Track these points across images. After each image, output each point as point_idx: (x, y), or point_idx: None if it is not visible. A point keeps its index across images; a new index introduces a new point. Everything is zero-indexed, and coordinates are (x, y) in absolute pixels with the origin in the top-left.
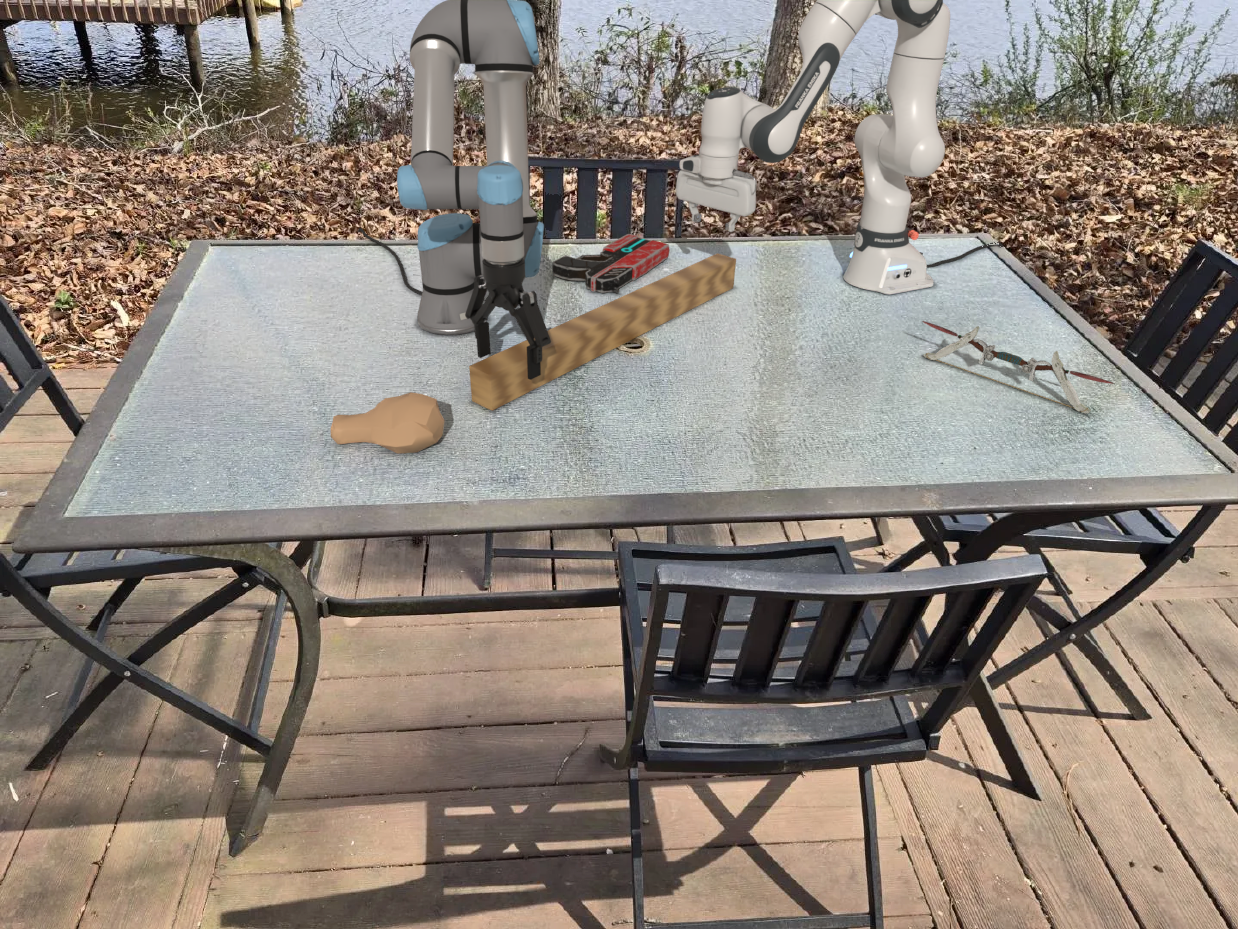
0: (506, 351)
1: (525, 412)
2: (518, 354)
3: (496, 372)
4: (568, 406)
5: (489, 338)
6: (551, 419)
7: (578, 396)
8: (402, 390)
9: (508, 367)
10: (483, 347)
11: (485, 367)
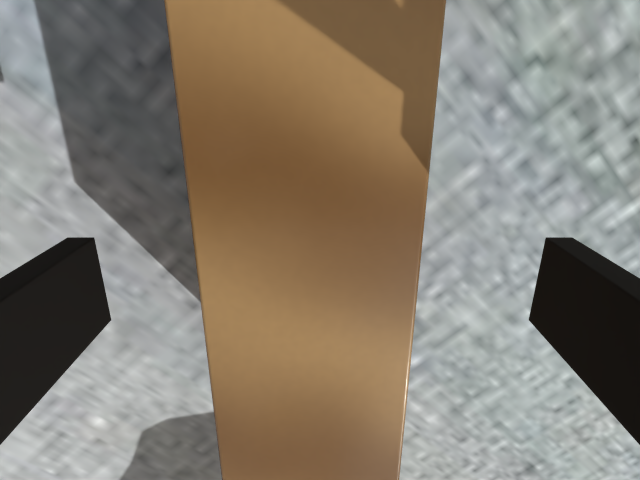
0: (228, 250)
1: (478, 283)
2: (334, 223)
3: (399, 459)
4: (614, 124)
5: (16, 295)
6: (601, 254)
7: (611, 6)
8: (21, 450)
9: (407, 378)
10: (70, 329)
11: (310, 466)
